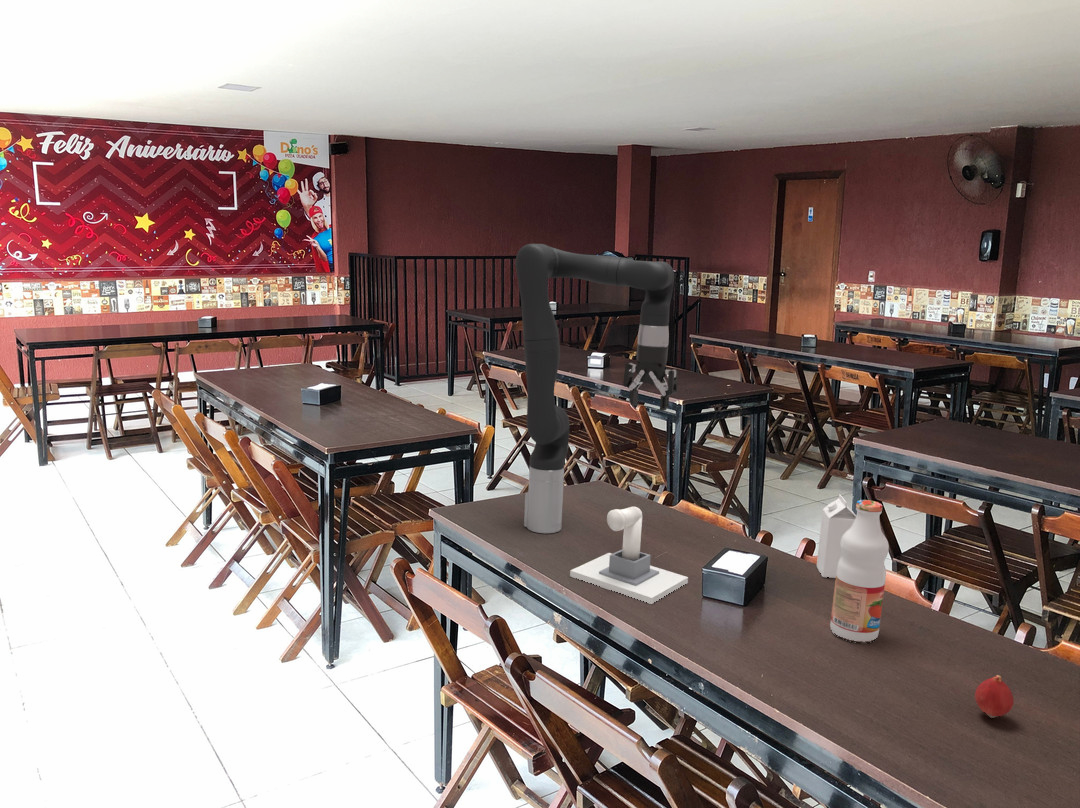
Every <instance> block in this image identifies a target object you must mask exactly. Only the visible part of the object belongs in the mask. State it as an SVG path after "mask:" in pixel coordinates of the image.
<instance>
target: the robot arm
mask: <svg viewBox="0 0 1080 808" xmlns="http://www.w3.org/2000/svg"><path fill="white" fill-rule="evenodd" d="M515 270H516V276H517V277H516V278H517V283H518V288H519V293H520V302H521V316H522V317H521V319H522V321H521V322H522V336H523V337H522V338H523V351H524V353H523V354H524V361H525V376H526V385H527V389H526V391H527V406H526V407H527V408H526V409H527V410H526V411H527V412H526V428H527V432H528V434H529V437H530V438H531V439H532V440H533V441H534V442H535V445H534V449H533V450H532V453H531V454H530V457H529V473H528V474H529V475H528V490H527V491H526V492H525V494H524V518H523V527H525V528H527V529H528V531H531V532H533V533H537V534H538V533H539V534H554V533H557V532H560V531H561V530H562V522H563V521H562V520H563V519H562V518H563V517H562V516H563V499H564V497H563V496H564V480H565V478H564V477H565V464H566V463H565V462H566V459H567V456H568V452H569V450H568V449H569V439H570V426H571V425H570V418H569V415H568V413H567V411H566V410H565V409H564V408H562V407H561V406H559V405H556V400H555V387H556V386H555V385H556V380H557V376H558V370H559V366H560V358H561V347H560V334H559V333H560V332H559V328H558V327H559V326H558V325H557V322H556V318H555V315H554V314H553V313H554V312H553V311H552V308H551V304H550V300H549V299H550V298H549V290H548V289H549V287H548V285H549V284H548V280H549V279H554V278H555V279H557V278H561V279H562V278H569V279H579V280H584V281H586V282H587V281H588V282H591V283H592V282H593V283H596V284H601V285H607V286H608V285H609V286H616V287H630V288H634V289H637V290H644V291H645V295H644V296H645V297H644V300H643V302H642V304H641V309H640V315H639V318H640V319H639V326H638V327H639V328H638V334H637V347H636V364H635V363H634V362H629V363H626V364H625V366H624V374H623V375H624V376H623V381H622V383H623V384H622V385H623V387H625V388H628V389H629V398H628V399H629V403H630V405H631V406H637V405H638V404H639V403H638V401H639V400H638V399H639V388H640V386H642V384H650V385H652V386H654V385H655V387H656V388H657V389H658V390H659V392H660V394H661V395H660V400H659V411H662V412H665V411H667V409H668V408H669V407H670V406H669V405H670V403H669V402H670V395H674V394H677V393H678V378H679V377H678V374H679V372H678V370H677V368H675V369H667V361H668V351H669V343H670V341H669V337H670V336H669V335H670V333H669V323H670V305H671V300H672V296H673V292H674V286H675V272H674V269H673V267H672V266H671V264H670V263H668V262H666V261H659V260H658V261H648V260H633V259H631V258H628V257H621V256H612V255H602V254H601V255H599V254H597V255H596V254H581V253H575V252H570V251H565V250H562V249H559V248H555V247H552V246H550V245H547V244H544V243H528V244H525V245H523V246H522V247H521V248H520V249H519V250H518V252H517V254H516V257H515ZM635 372H636V374H637V375H636V376H635V378H634V373H635ZM665 377H666V378H667V379H668V381H667V379H666V378H665Z"/></svg>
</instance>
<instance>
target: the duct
mask: <svg viewBox="0 0 1080 808" xmlns="http://www.w3.org/2000/svg"><path fill="white" fill-rule="evenodd" d="M651 556H652V555H651V554H648V553H645V552H641V551H640V557H639V559H638V560H636V561H631V560H628V559H625V558H622V549H620V550H618V551H615V552H613V553H611V552H607V553H605V554H603V555H601V556H599V557H596V558H595V559H591V560H590V561H588V562H586V563H584V564H582V565H580V566H577V567H575V568H572V569H570V570H569V577H570V578H573V579H576V578H577V579H576V580H578V579H579V581H581V580H583V581H582V582H584V581H585V583H587V582H588V584H590V583H592V584H591V585H593V584H594V586H596V585H597V586H596V587H599V586H600V587H599V588H602V589H606V590H608V591H611V590H612V591H611V592H614V591H615V592H614V593H616V592H618V593H617V594H619V593H621V594H620V595H622V594H624V595H623V596H625V595H626V597H628V596H629V598H631V597H632V599H634V598H635V599H634V600H637V599H638V601H640V600H641V601H640V602H643V601H644V602H643V603H646V602H647V604H649V605H653V604H655V603H657V602H658V601H660V600H661V598H662V599H663V598H665V597H667V596H669V595H670V594H672V593H673V591H674V590H675V591H677V590H679V589H681V588H682V587H684V586H686V585H687V584H688V583H689V577H688V576H685V575H682V574H679V573H676V572H674V571H673V572H672V571H669V570H667V569H666V570H665V569H663V568H660V567H656V566H653V565H651V558H652V557H651ZM685 584H686V585H685ZM683 585H684V586H683ZM681 586H682V587H681ZM680 587H681V588H680ZM678 588H679V589H678ZM676 589H677V590H676ZM675 591H674V592H675ZM671 592H672V593H671ZM669 593H670V594H669ZM668 594H669V595H668ZM666 595H667V596H666ZM664 596H665V597H664ZM659 599H660V600H659ZM656 601H657V602H656ZM654 602H655V603H654Z"/></svg>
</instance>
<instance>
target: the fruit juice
mask: <svg viewBox="0 0 1080 808" xmlns="http://www.w3.org/2000/svg"><path fill="white" fill-rule="evenodd" d="M855 510H856V514H855V515H856V518H855V521H854V523H853V525H852V526H851V527H850V529H848V530H847V531H846V532H845V533H844V534H843V536H842V538H841V543H840V546H841V552H842V556H841V558H840V560H839V562H838V565H837V571H836V578H835V582H834V590H833V598H832V605H831V615H830V625H829V626H830V631H831V630H832V631H831V633H833V634H834V633H835V634H836V635H838V636H840V637H843V638H846V639H849V640H854V641H863V642H865V641H871V640H874V639H876V638H877V639H878V636H879V632H880V624H881V618H882V610H883V603H884V601H883V600H884V596H885V595H884V594H885V585H886V579H887V578H886V577H887V568H886V564H885V561H886V559H887V557H888V554H889V549H890V548H889V547H890V546H889V541H888V539H887V538H886V536H885V534H884V533H883V531H882V528H881V521H880V515H881V514H882V511H883V505H882V503H880V502H879V501H874V500H869V499H868V500H867V499H859V500H857V501H856V503H855ZM835 634H834V635H835ZM836 635H835V636H836ZM838 636H837V637H838ZM877 639H876V640H877Z"/></svg>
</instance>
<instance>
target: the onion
mask: <svg viewBox="0 0 1080 808" xmlns="http://www.w3.org/2000/svg"><path fill="white" fill-rule="evenodd" d="M974 699H975V702H976V705H977V706H978V708H979V709H980V710H981V711H982V712H983V713H984V712H985V713H986V714H989V715H992V716H1000V717H1001V716H1004V715H1007V714H1009V712H1010V711H1011V710H1012V709H1013V706H1014V701H1015V700H1014V699H1015V698H1014V695H1013V693H1012V689H1011V688H1010V687H1009V685H1008V684H1006V682H1005V681H1003V680H1002V676H1001V675H998V674H997V675H995V676H992V677H990V678H986V679H985V680H983V681H982V682H980V684H978V685H977V687H976V689H975V693H974ZM985 713H984V714H985ZM986 714H985V715H986Z"/></svg>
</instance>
